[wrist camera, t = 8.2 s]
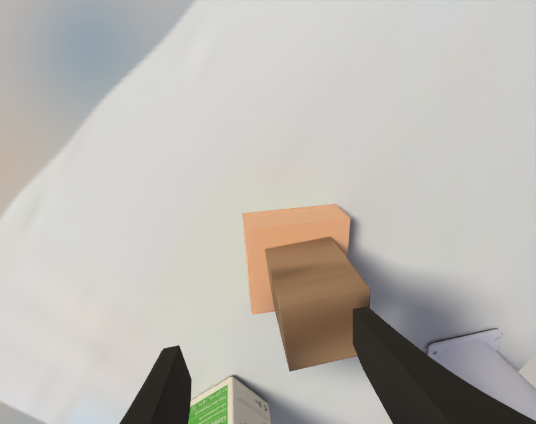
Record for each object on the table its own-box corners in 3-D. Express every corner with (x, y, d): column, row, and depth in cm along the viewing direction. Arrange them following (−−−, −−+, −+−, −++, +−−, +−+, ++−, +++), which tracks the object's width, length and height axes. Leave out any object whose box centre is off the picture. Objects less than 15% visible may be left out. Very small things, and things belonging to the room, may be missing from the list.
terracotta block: (329, 277, 23) (343, 301, 21) (249, 288, 23) (252, 314, 20) (333, 202, 21) (350, 218, 18) (242, 211, 20) (244, 229, 17)
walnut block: (332, 289, 20) (368, 353, 15) (273, 302, 20) (289, 371, 15) (330, 236, 18) (370, 288, 13) (264, 249, 18) (280, 307, 13)
